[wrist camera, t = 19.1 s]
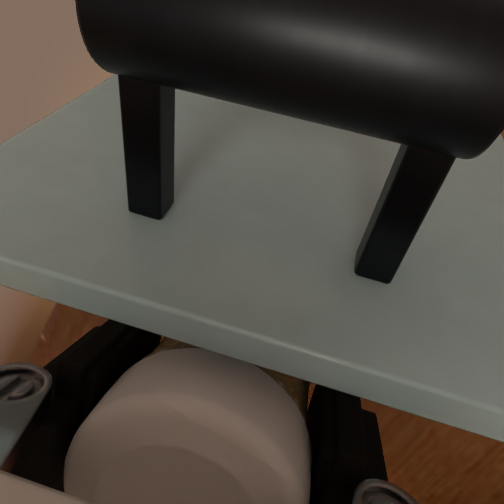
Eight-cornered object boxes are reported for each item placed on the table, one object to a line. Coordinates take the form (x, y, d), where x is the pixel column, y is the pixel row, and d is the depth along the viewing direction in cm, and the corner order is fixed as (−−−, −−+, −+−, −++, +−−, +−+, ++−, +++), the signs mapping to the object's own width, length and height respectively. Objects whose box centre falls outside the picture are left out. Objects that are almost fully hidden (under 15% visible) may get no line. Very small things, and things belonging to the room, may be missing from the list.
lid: (611, 478, 6) (1209, 170, 3) (-108, 253, 8) (-355, -156, 4) (472, 108, 18) (550, -45, 14) (194, 43, 19) (200, -112, 15)
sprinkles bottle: (207, 267, 20) (4, 478, 8) (279, 210, 19) (181, 348, 6) (266, 337, 21) (166, 651, 8) (340, 286, 19) (366, 564, 7)
